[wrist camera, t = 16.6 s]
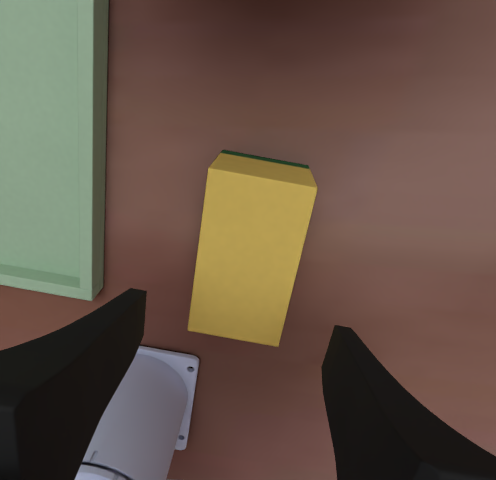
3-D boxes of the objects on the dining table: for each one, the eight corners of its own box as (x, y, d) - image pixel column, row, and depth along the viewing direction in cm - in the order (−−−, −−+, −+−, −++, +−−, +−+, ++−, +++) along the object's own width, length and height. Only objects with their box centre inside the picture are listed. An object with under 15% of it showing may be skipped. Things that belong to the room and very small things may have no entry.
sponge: (277, 298, 25) (278, 347, 20) (203, 285, 25) (187, 330, 20) (308, 165, 21) (318, 187, 17) (222, 149, 21) (208, 167, 17)
